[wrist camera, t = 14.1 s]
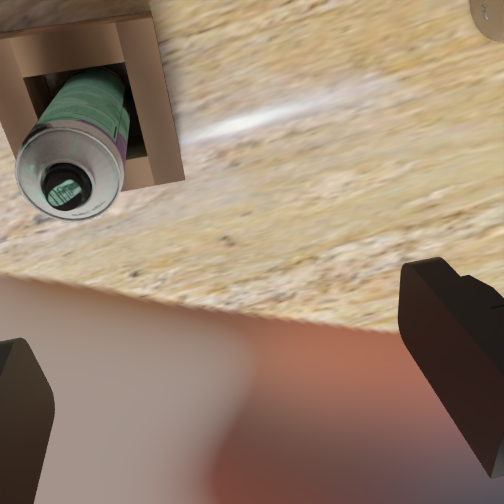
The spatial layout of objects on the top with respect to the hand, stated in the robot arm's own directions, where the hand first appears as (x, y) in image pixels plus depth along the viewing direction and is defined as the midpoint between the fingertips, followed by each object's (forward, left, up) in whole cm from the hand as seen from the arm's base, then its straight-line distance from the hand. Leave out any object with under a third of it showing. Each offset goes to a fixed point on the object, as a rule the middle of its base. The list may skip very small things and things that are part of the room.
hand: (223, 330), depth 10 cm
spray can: (+6, +2, -35) cm, 35 cm away
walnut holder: (+6, +2, -34) cm, 35 cm away
